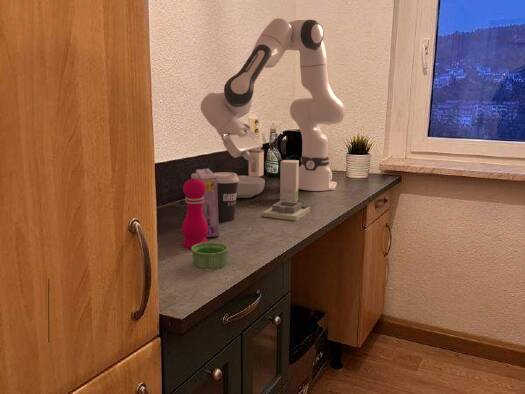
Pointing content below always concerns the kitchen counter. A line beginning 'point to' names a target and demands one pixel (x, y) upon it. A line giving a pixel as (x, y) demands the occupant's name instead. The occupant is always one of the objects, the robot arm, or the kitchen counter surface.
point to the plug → (256, 163)
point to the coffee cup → (226, 195)
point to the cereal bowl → (249, 186)
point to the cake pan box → (210, 201)
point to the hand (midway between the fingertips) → (257, 161)
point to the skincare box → (289, 180)
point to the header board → (287, 210)
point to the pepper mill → (194, 212)
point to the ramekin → (209, 255)
